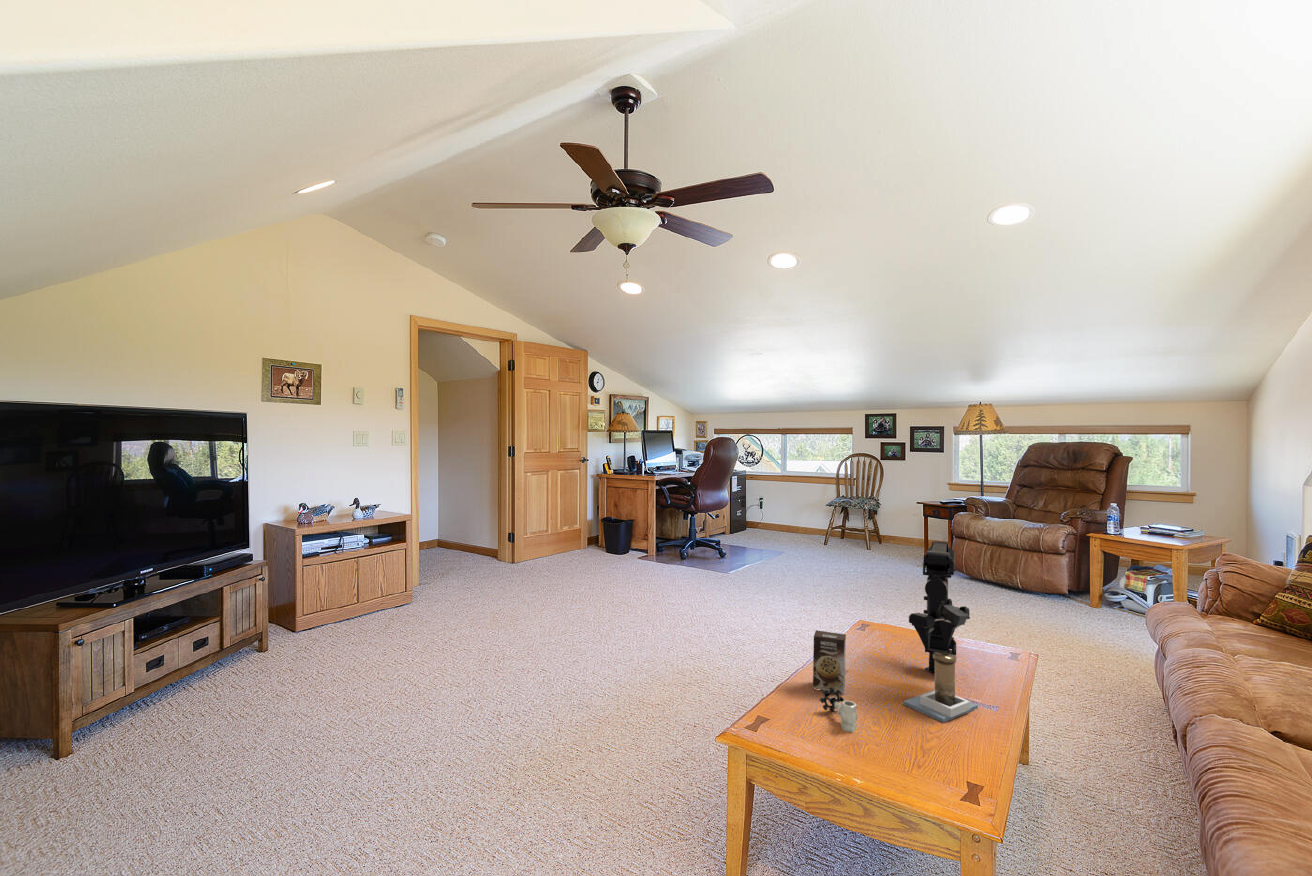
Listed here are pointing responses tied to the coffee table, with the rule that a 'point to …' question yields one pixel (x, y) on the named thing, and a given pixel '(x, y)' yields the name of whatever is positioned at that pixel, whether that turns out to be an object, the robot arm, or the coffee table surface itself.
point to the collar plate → (939, 706)
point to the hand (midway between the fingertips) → (937, 647)
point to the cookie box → (829, 661)
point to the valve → (842, 709)
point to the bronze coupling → (945, 678)
